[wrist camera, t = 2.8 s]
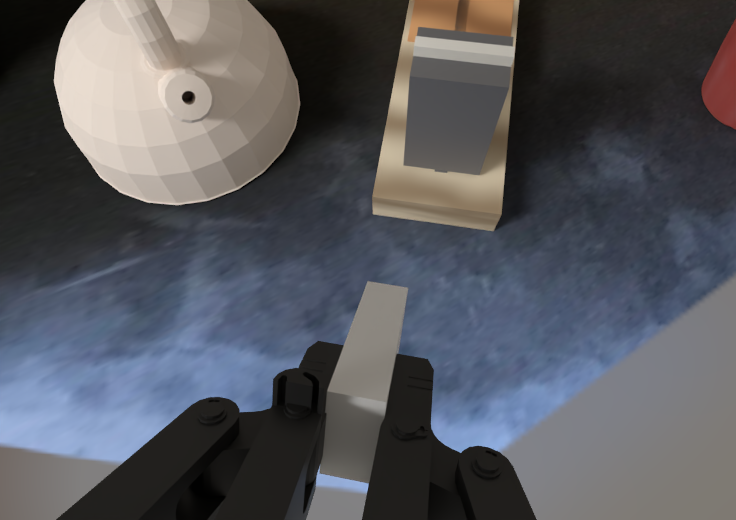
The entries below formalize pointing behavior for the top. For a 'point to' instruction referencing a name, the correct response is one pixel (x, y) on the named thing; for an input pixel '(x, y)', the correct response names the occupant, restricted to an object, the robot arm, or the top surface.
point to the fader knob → (455, 98)
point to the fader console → (394, 180)
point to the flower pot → (722, 82)
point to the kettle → (175, 95)
